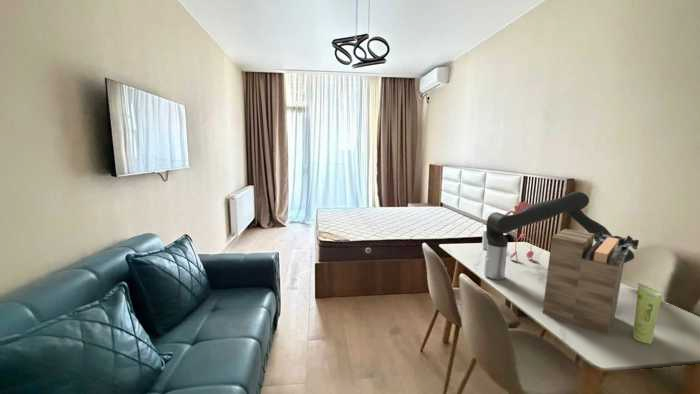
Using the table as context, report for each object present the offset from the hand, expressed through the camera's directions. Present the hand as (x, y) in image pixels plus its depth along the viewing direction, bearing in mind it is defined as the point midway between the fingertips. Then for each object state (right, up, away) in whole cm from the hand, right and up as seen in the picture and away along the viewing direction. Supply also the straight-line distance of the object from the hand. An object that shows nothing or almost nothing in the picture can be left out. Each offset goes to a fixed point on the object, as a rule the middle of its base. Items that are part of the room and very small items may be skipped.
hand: (614, 235), depth 124 cm
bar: (-10, -6, -8) cm, 15 cm away
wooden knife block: (-18, -31, -4) cm, 36 cm away
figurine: (-8, -21, +57) cm, 61 cm away
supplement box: (-18, -18, +74) cm, 79 cm away
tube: (-7, -34, -18) cm, 40 cm away
